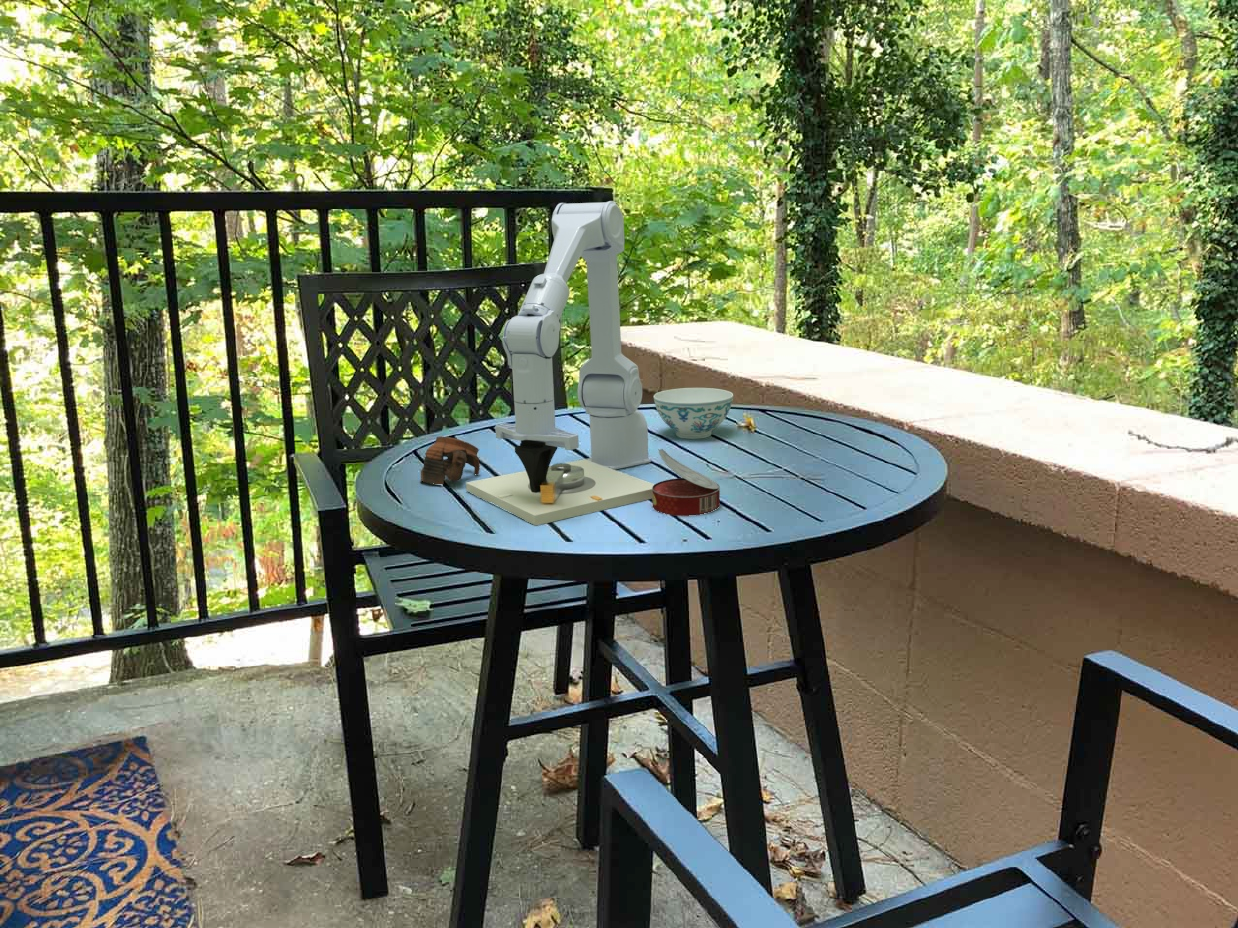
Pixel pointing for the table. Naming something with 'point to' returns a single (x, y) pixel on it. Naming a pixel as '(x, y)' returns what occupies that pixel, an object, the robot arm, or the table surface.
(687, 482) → the canned food
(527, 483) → the panel
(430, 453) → the brown ridged arch
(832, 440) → the table surface
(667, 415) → the chinaware
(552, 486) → the dial
